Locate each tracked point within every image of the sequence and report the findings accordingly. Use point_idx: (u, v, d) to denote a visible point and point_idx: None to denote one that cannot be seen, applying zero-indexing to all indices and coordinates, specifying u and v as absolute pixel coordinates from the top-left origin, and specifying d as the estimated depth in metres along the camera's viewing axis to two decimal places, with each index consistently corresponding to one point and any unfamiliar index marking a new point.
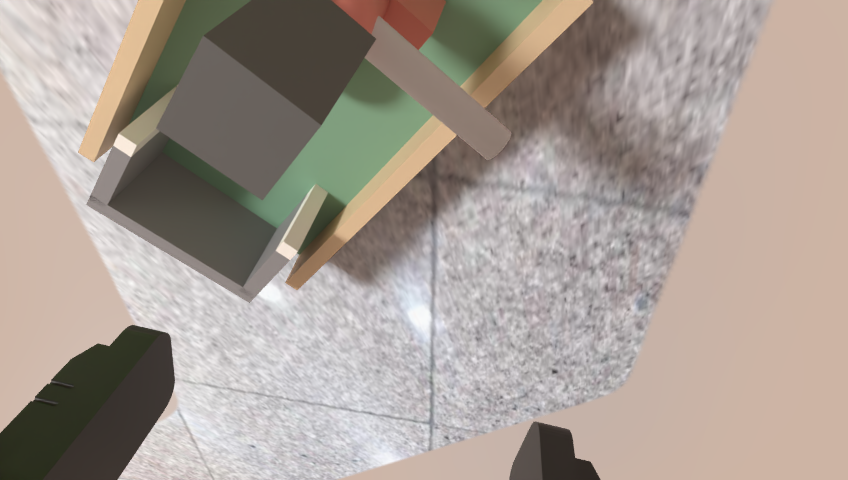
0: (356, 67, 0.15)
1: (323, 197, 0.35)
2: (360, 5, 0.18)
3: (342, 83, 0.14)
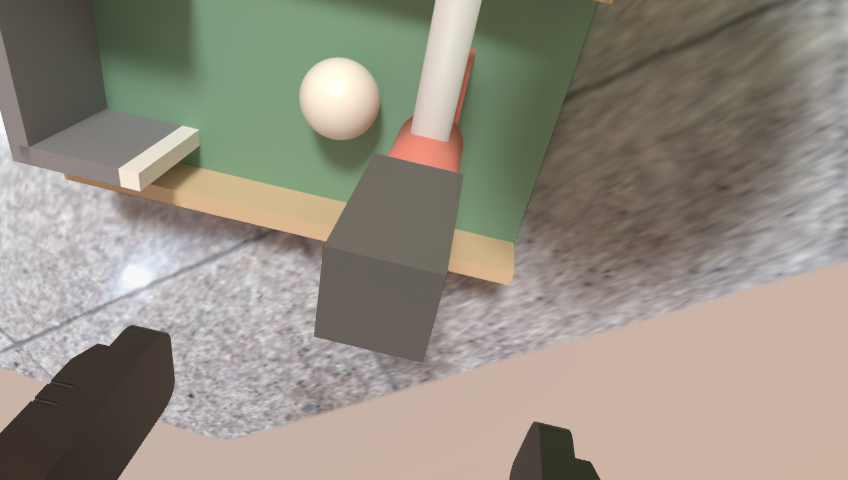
0: None
1: (193, 147, 0.30)
2: None
3: None
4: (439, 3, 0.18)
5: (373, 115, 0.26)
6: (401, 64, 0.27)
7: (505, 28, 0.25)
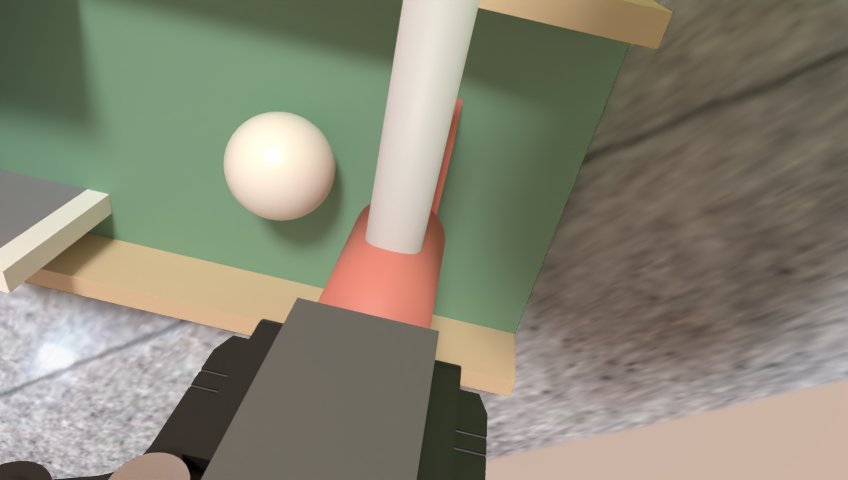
0: None
1: (101, 218, 0.24)
2: None
3: None
4: (399, 60, 0.11)
5: (324, 190, 0.19)
6: (365, 117, 0.20)
7: (502, 72, 0.19)
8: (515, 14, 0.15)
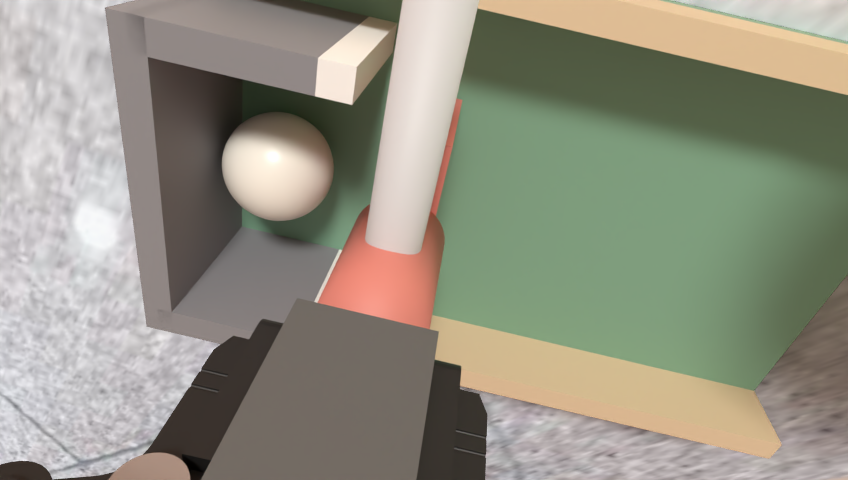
0: None
1: None
2: None
3: None
4: (399, 60, 0.12)
5: None
6: (660, 187, 0.20)
7: (822, 148, 0.19)
8: None
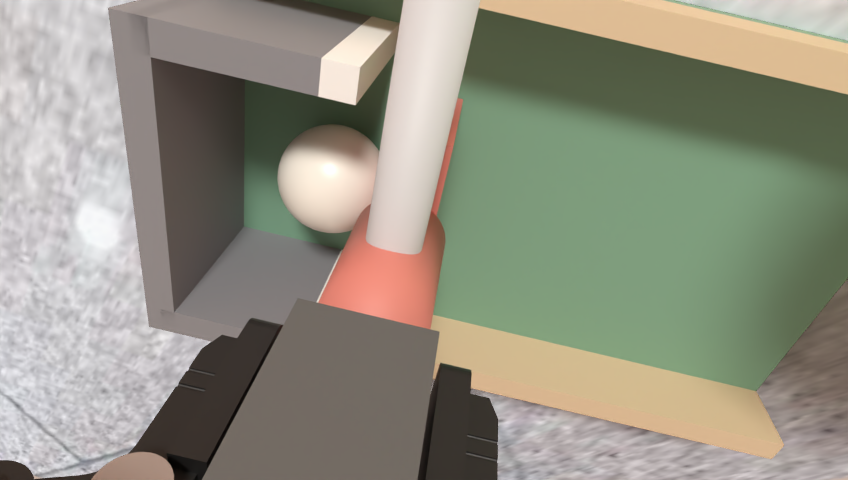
0: None
1: None
2: None
3: None
4: (400, 60, 0.11)
5: None
6: (663, 188, 0.20)
7: (826, 148, 0.19)
8: None
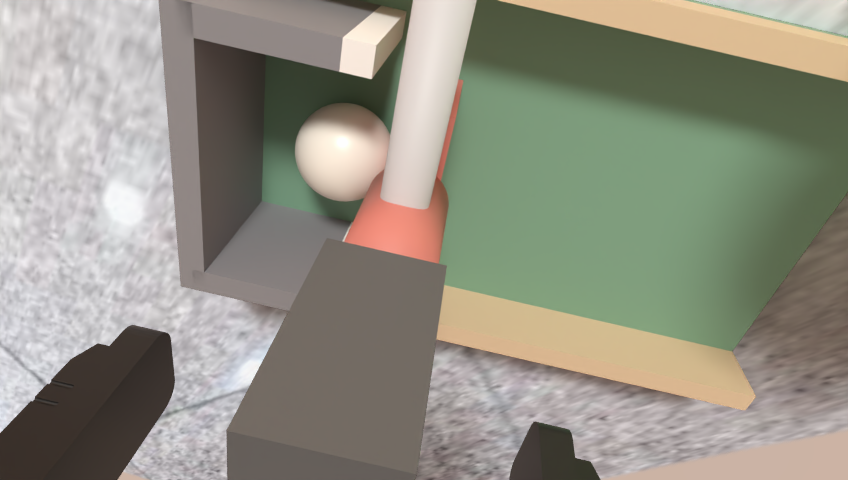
0: None
1: None
2: None
3: None
4: (412, 37, 0.14)
5: None
6: (644, 160, 0.22)
7: (787, 123, 0.21)
8: None
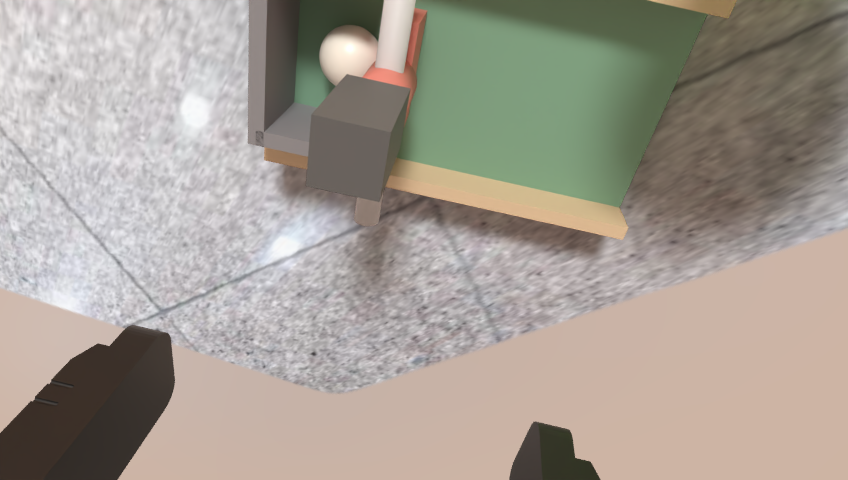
0: (392, 167, 0.25)
1: None
2: None
3: (388, 176, 0.24)
4: None
5: None
6: (546, 64, 0.35)
7: (632, 35, 0.33)
8: (656, 1, 0.29)
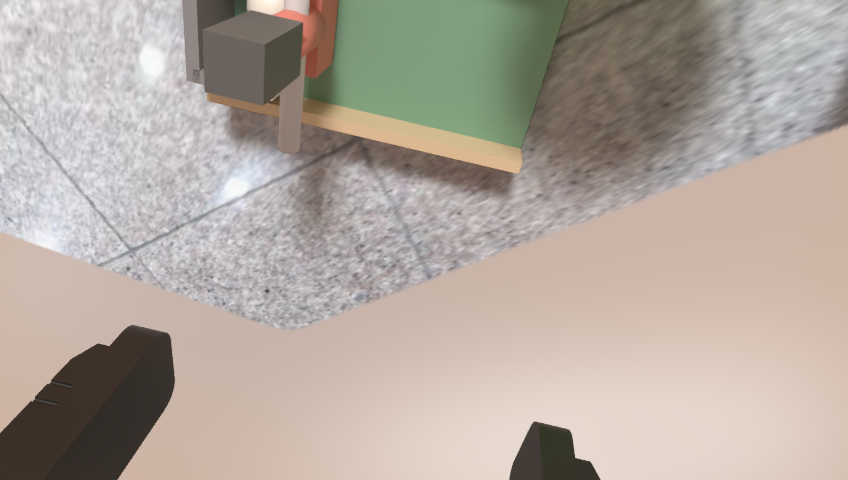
0: (286, 86, 0.31)
1: None
2: (306, 51, 0.34)
3: (278, 90, 0.30)
4: None
5: None
6: (446, 16, 0.40)
7: None
8: None
